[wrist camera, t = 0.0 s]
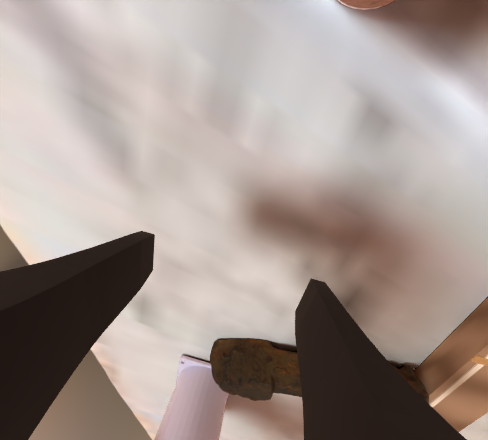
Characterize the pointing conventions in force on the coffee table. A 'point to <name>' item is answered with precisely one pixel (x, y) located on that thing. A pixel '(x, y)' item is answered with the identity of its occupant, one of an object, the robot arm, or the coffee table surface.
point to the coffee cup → (365, 3)
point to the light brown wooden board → (460, 372)
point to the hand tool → (268, 370)
